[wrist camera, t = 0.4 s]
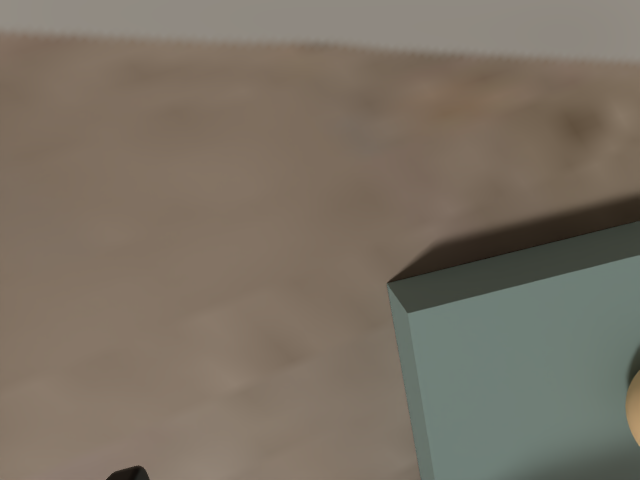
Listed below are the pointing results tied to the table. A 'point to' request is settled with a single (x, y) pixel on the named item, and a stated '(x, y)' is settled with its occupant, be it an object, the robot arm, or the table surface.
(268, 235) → the table surface
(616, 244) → the deck
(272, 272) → the table surface
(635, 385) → the ball
